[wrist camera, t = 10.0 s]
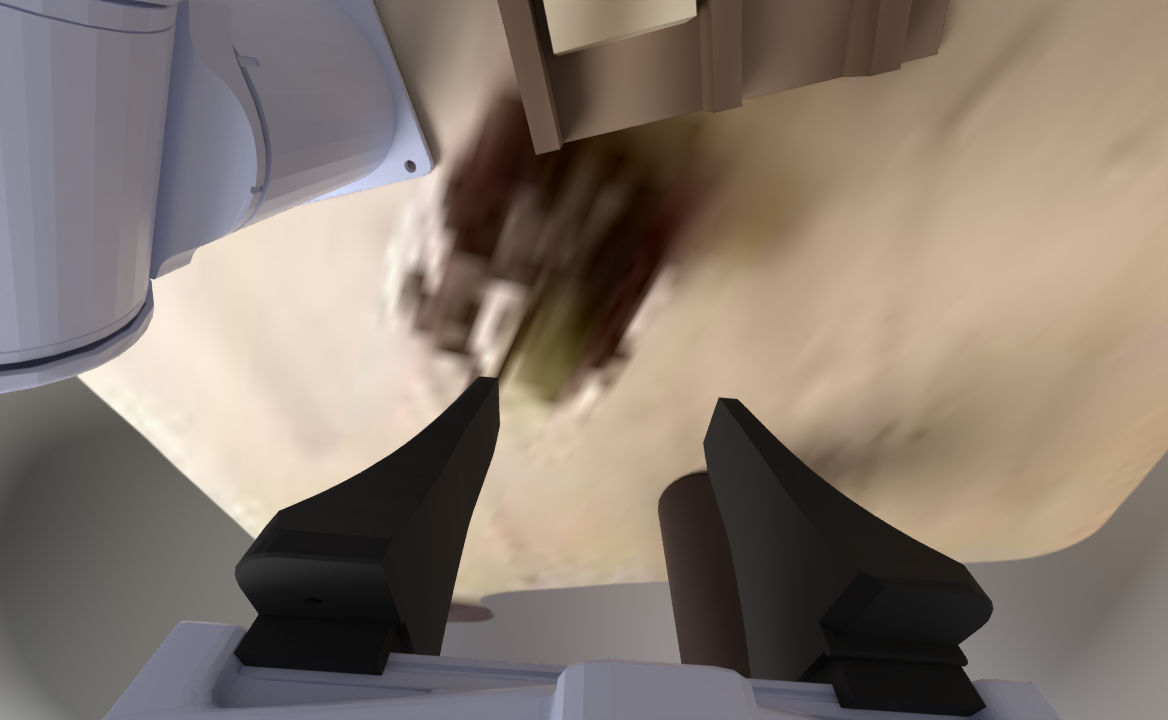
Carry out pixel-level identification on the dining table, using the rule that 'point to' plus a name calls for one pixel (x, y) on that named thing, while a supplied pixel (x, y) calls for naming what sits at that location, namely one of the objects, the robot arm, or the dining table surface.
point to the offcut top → (609, 19)
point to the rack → (708, 59)
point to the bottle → (702, 577)
